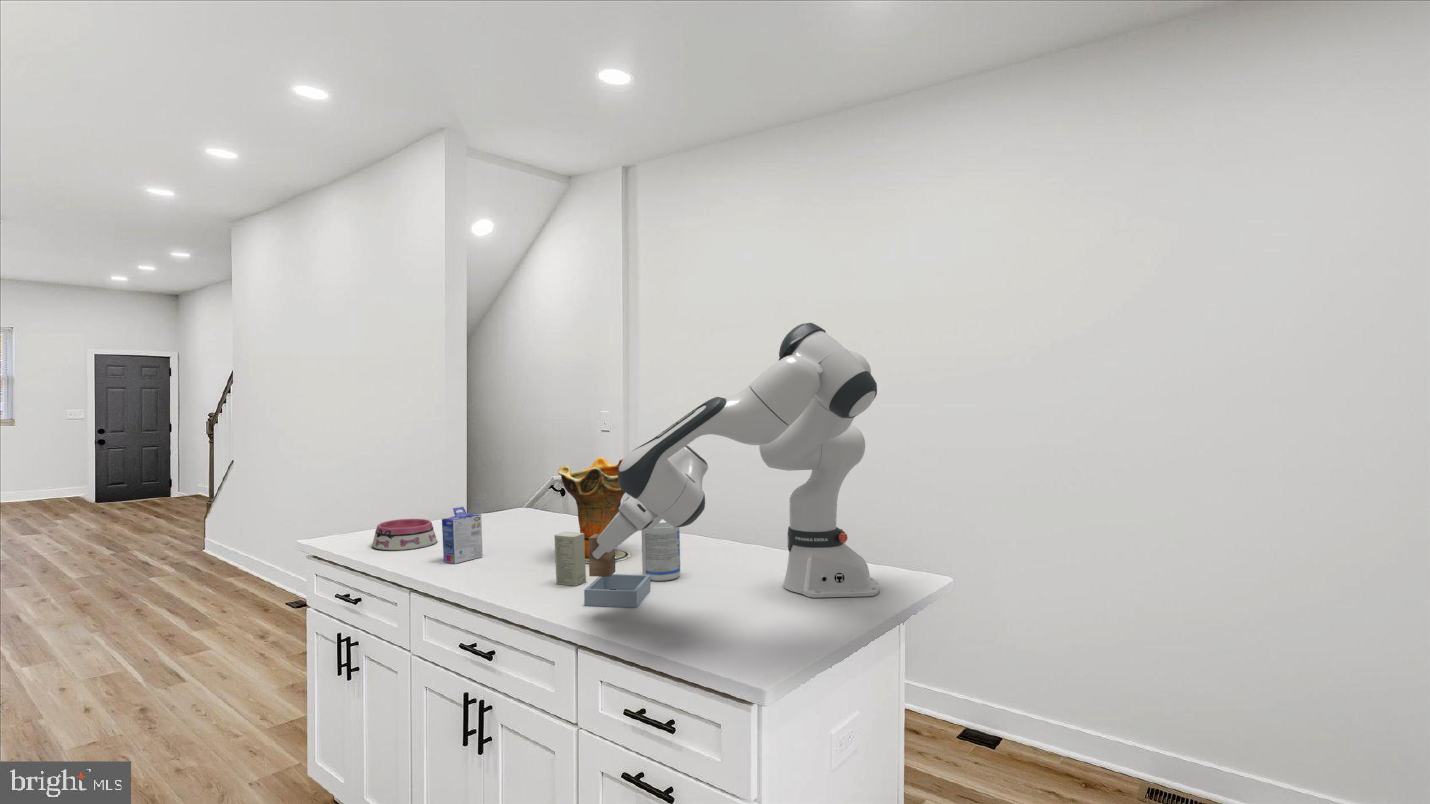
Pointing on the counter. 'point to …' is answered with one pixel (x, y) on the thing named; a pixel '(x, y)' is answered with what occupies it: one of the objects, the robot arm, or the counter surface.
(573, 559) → the skincare box
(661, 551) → the supplement tub
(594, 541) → the walnut block
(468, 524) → the ink cartridge box
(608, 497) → the decorative vase
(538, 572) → the counter surface
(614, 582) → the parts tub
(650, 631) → the counter surface
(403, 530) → the dog bowl
